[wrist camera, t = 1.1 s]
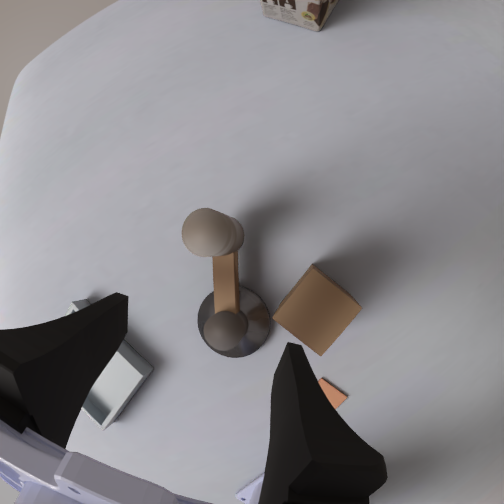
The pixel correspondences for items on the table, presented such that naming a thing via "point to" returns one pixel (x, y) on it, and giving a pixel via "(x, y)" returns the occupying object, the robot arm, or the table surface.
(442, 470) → the table surface
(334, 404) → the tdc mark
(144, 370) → the tray
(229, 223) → the crank lever
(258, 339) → the crank base
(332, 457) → the robot arm
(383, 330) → the table surface
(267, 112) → the table surface
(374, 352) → the table surface
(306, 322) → the block
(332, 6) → the coffee box
